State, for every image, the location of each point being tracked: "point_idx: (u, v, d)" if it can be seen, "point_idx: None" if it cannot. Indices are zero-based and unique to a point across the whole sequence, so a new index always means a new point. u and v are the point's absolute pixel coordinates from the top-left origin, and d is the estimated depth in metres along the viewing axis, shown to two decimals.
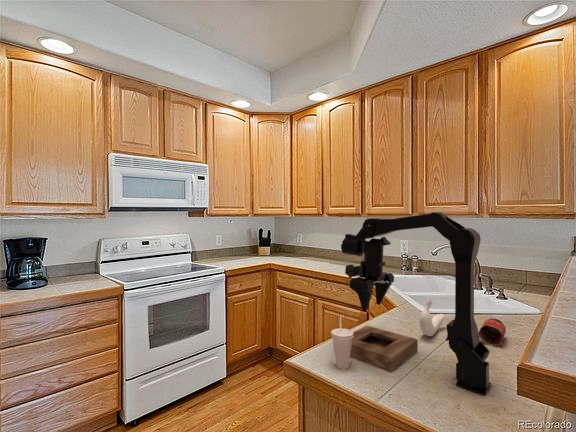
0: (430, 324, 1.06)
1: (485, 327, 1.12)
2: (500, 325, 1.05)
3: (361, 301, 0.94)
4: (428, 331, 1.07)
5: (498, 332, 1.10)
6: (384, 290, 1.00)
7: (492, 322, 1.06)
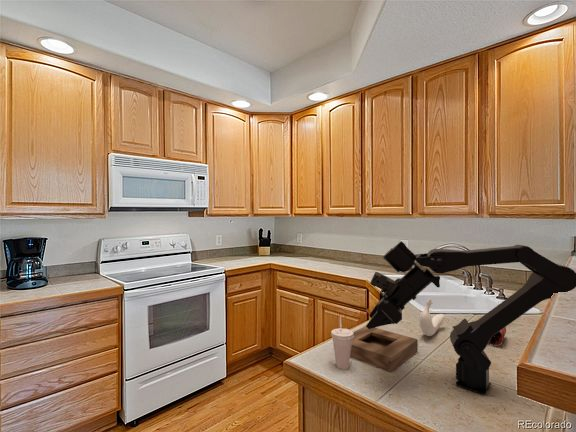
0: (430, 324, 1.06)
1: None
2: None
3: (373, 320, 0.81)
4: (428, 331, 1.07)
5: (498, 332, 1.10)
6: None
7: None
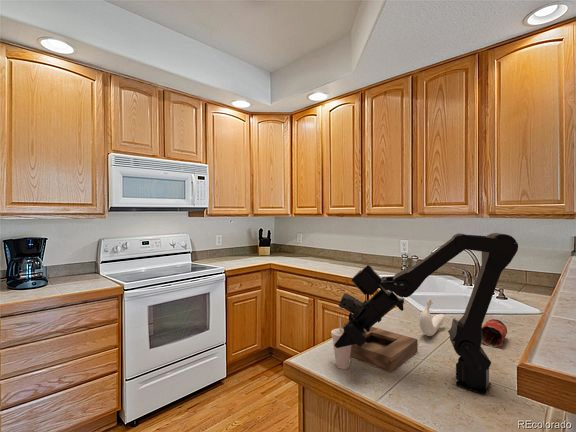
0: (430, 324, 1.06)
1: (486, 328, 1.12)
2: (501, 326, 1.05)
3: (341, 339, 0.85)
4: (428, 331, 1.07)
5: (499, 333, 1.09)
6: None
7: (493, 323, 1.05)
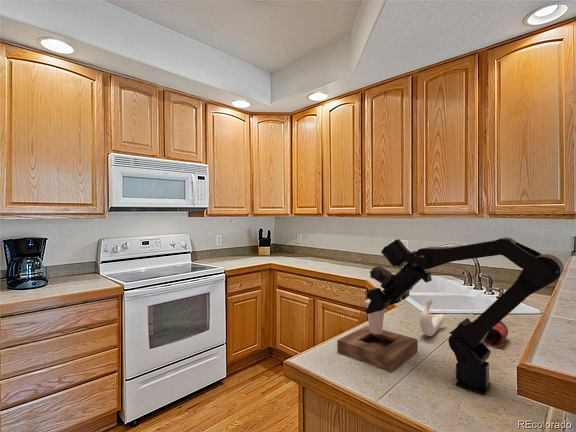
0: (430, 324, 1.06)
1: None
2: (502, 327, 1.04)
3: (369, 306, 0.94)
4: (428, 331, 1.07)
5: (500, 334, 1.09)
6: (390, 303, 0.98)
7: None
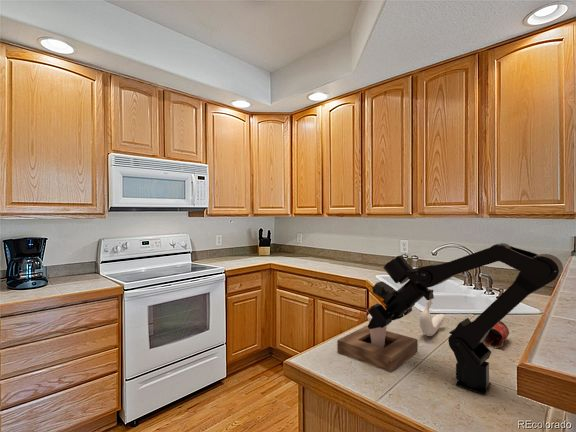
0: (430, 324, 1.06)
1: None
2: (502, 327, 1.04)
3: (371, 321, 0.95)
4: (428, 331, 1.07)
5: (501, 334, 1.08)
6: (393, 318, 0.98)
7: None
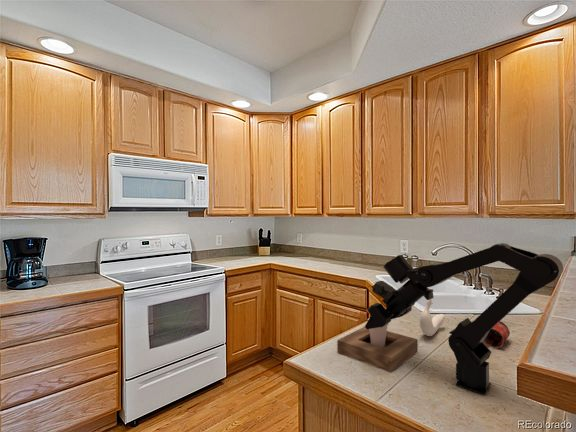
0: (430, 324, 1.06)
1: None
2: (502, 327, 1.03)
3: (369, 321, 0.94)
4: (428, 331, 1.07)
5: None
6: (394, 316, 0.99)
7: None
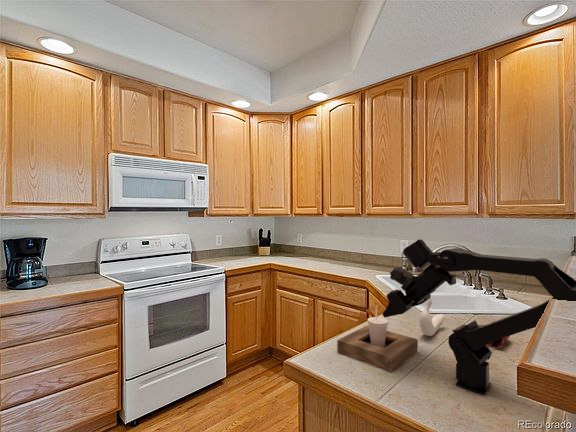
0: (430, 324, 1.06)
1: None
2: None
3: (387, 309, 0.90)
4: (428, 331, 1.07)
5: None
6: (412, 304, 0.95)
7: None
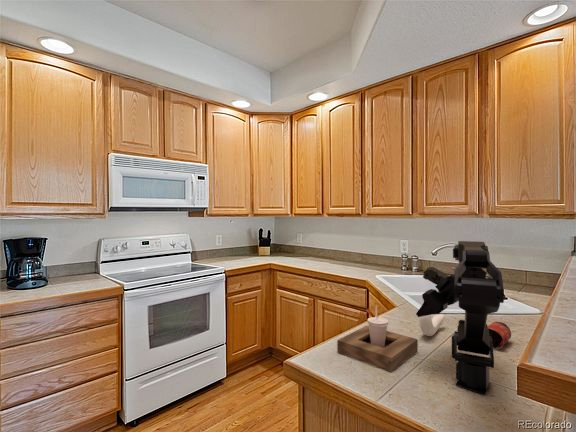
0: (430, 324, 1.06)
1: (490, 330, 1.09)
2: (503, 329, 1.02)
3: (421, 309, 0.90)
4: (428, 331, 1.07)
5: None
6: None
7: (495, 325, 1.03)
